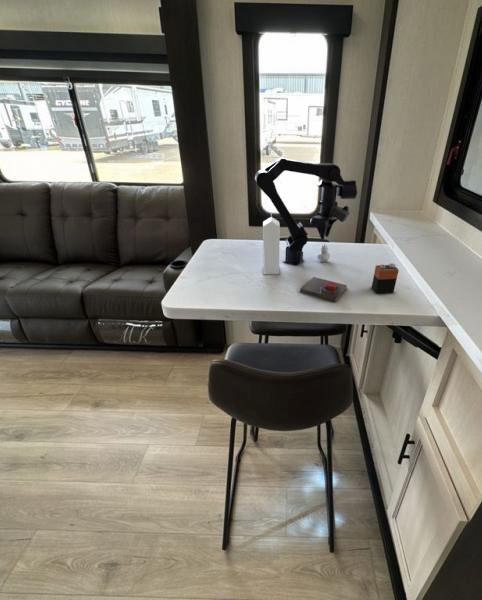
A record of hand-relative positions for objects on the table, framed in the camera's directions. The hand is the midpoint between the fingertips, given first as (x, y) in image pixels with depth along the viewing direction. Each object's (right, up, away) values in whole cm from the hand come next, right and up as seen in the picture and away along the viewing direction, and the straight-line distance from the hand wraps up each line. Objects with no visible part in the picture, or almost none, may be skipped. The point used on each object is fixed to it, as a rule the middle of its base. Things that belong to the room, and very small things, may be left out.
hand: (324, 237), depth 126 cm
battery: (+18, -22, -17) cm, 34 cm away
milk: (-22, -14, -6) cm, 27 cm away
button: (-1, -22, -24) cm, 32 cm away
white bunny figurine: (0, -9, +5) cm, 10 cm away
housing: (-3, -22, -18) cm, 29 cm away
